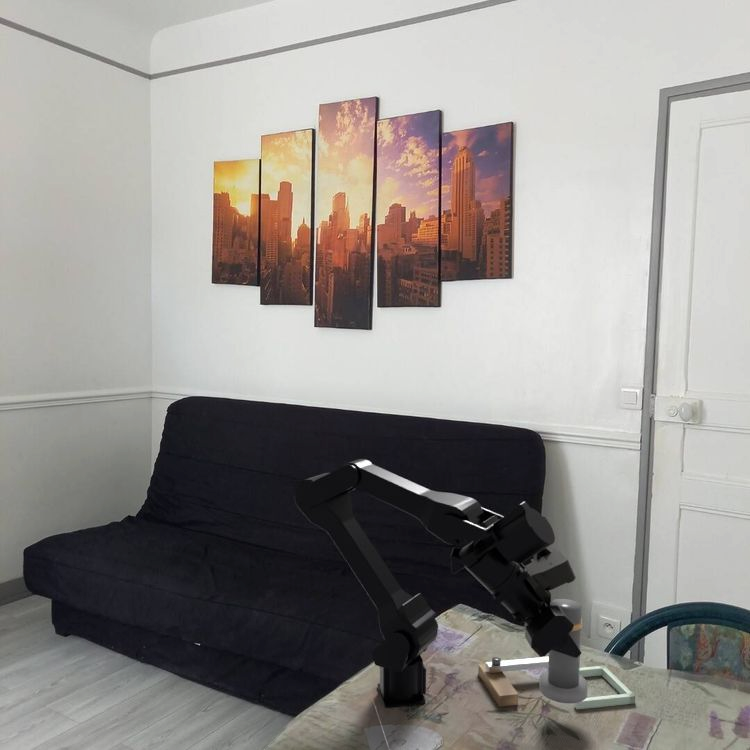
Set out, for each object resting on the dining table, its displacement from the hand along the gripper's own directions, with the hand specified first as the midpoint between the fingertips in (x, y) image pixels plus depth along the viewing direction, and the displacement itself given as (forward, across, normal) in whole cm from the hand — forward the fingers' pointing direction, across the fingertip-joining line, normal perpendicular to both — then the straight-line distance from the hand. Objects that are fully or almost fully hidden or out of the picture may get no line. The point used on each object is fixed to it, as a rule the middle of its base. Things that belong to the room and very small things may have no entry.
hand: (573, 647), depth 103 cm
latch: (+4, +12, +9) cm, 15 cm away
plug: (+4, 0, +6) cm, 7 cm away
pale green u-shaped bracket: (+12, +8, +4) cm, 15 cm away
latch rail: (+1, +9, +14) cm, 17 cm away
